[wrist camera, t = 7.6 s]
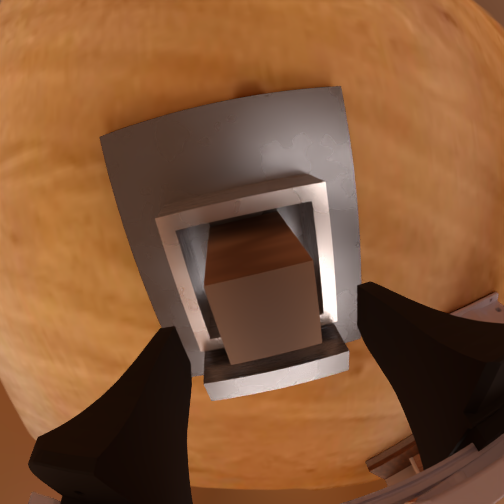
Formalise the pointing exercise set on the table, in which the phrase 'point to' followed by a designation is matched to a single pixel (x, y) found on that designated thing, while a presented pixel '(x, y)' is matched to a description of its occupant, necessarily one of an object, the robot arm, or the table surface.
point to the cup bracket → (241, 207)
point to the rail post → (261, 288)
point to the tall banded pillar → (397, 463)
